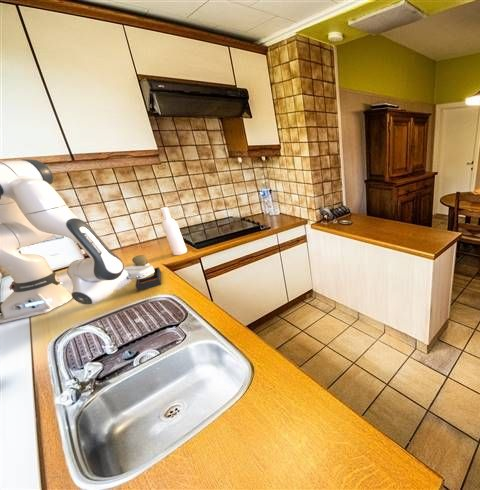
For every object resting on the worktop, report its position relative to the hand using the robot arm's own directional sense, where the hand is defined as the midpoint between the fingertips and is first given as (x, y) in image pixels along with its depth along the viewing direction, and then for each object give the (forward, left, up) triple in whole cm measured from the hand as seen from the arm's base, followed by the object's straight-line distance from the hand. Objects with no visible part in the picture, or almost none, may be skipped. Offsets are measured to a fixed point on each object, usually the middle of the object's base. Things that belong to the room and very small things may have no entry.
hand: (143, 264), depth 131 cm
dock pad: (-1, +4, -11) cm, 11 cm away
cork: (-1, -1, -6) cm, 6 cm away
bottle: (+14, +38, -11) cm, 42 cm away
